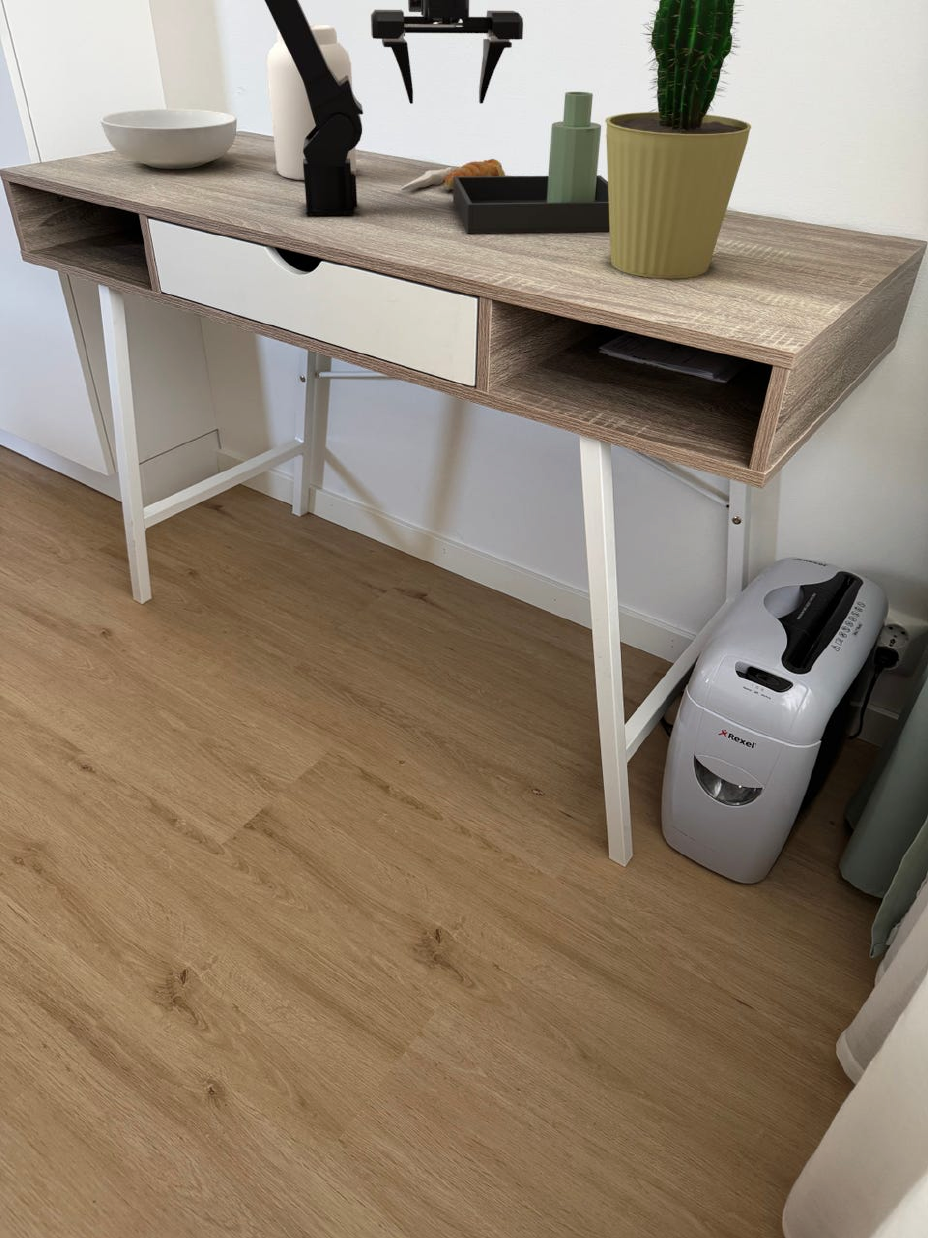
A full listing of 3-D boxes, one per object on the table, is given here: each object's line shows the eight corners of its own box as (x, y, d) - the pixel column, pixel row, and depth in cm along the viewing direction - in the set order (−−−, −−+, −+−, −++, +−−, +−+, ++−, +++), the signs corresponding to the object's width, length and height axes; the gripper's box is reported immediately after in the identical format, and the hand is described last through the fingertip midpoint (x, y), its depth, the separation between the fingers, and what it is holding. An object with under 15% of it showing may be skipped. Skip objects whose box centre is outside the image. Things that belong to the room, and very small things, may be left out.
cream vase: (280, 183, 141) (265, 27, 129) (274, 167, 151) (260, 21, 139) (362, 180, 143) (355, 27, 131) (351, 165, 153) (343, 21, 141)
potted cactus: (591, 244, 115) (618, -56, 97) (717, 249, 113) (768, -53, 96) (592, 280, 102) (624, -56, 84) (734, 286, 101) (796, -53, 83)
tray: (467, 233, 118) (467, 204, 116) (453, 203, 132) (453, 176, 130) (629, 231, 120) (632, 202, 118) (598, 201, 134) (600, 175, 132)
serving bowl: (226, 178, 143) (219, 128, 139) (91, 175, 143) (81, 125, 139) (252, 153, 160) (247, 108, 156) (132, 151, 160) (124, 106, 156)
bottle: (562, 224, 121) (571, 97, 112) (537, 213, 125) (544, 91, 117) (601, 219, 123) (613, 95, 115) (576, 209, 127) (585, 89, 119)
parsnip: (443, 176, 147) (443, 163, 146) (457, 178, 146) (457, 165, 145) (393, 194, 136) (393, 180, 135) (409, 196, 135) (409, 182, 134)
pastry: (461, 196, 135) (461, 168, 133) (433, 189, 139) (433, 161, 137) (510, 188, 140) (511, 161, 138) (481, 181, 144) (482, 154, 142)
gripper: (512, -44, 119) (507, 94, 129) (366, -46, 117) (372, 94, 127) (526, -43, 110) (520, 106, 120) (369, -45, 108) (375, 106, 118)
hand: (446, 102), depth 121 cm, fingers open, 9 cm apart
